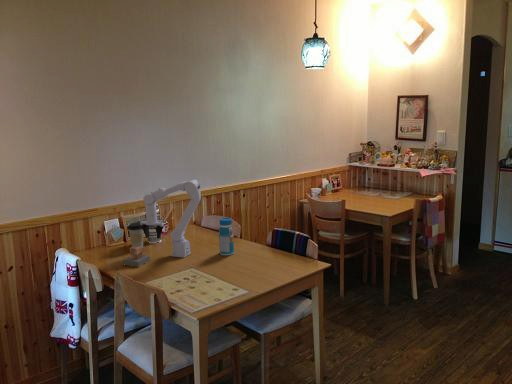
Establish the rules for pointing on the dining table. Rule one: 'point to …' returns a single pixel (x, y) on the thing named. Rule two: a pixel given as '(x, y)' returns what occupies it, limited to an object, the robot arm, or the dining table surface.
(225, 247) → the beverage bottle
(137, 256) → the terracotta block
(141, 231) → the coffee cup
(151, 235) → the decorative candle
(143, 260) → the charcoal plinth
